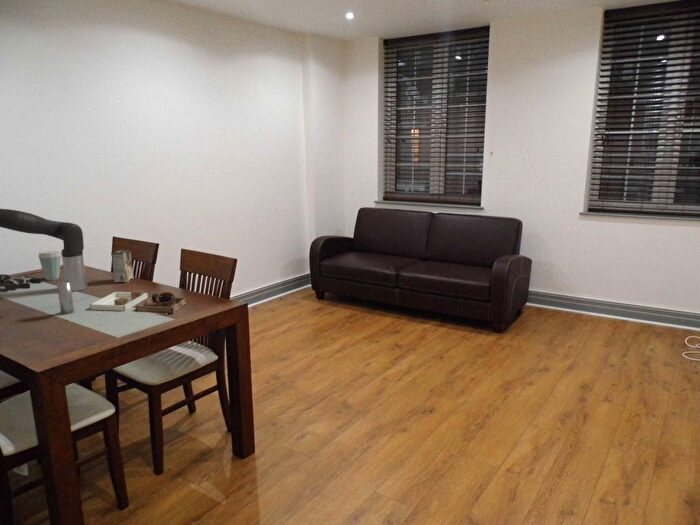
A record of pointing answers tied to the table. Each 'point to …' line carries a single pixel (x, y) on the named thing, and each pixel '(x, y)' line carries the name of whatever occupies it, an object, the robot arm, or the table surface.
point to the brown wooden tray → (144, 307)
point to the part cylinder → (65, 297)
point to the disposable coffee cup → (50, 264)
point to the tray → (108, 301)
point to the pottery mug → (164, 299)
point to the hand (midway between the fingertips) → (35, 283)
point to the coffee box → (122, 265)
